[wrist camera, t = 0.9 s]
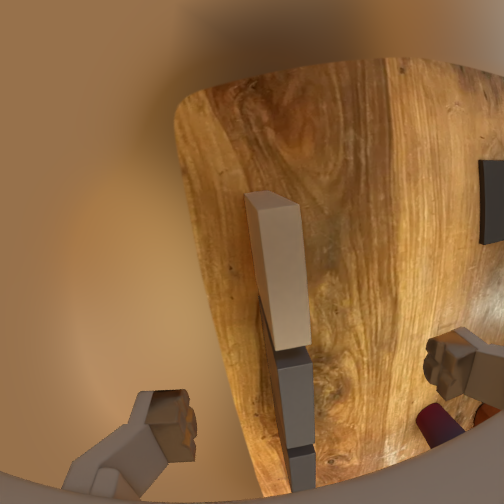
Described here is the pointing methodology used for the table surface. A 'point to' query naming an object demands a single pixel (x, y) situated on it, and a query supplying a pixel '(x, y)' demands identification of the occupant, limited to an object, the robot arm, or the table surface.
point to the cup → (437, 425)
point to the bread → (485, 413)
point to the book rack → (491, 201)
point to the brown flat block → (280, 266)
